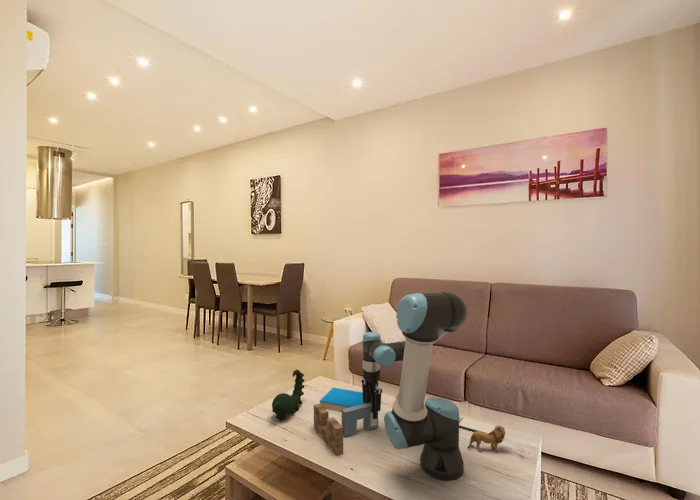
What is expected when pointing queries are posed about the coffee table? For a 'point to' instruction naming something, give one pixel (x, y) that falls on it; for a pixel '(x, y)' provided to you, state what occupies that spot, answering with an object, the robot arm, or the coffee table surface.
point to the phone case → (475, 426)
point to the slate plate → (357, 418)
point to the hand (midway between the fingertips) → (371, 423)
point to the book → (341, 399)
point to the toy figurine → (289, 399)
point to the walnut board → (328, 429)
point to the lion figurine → (488, 438)
